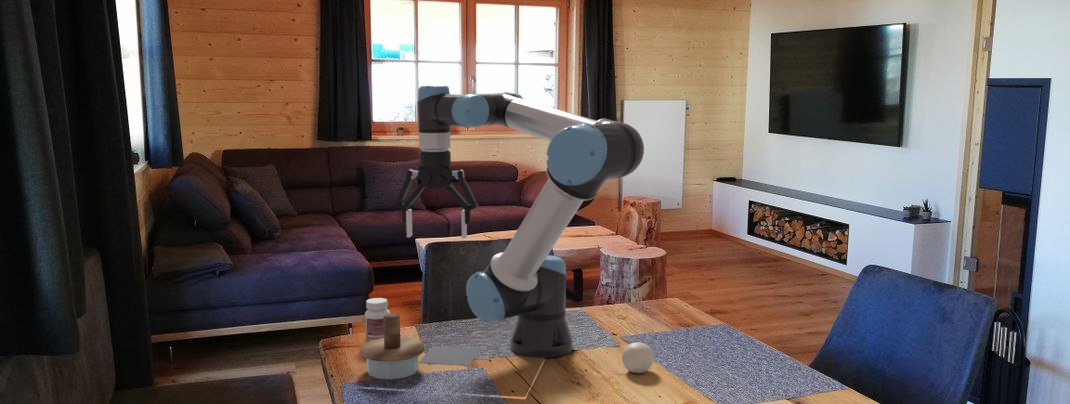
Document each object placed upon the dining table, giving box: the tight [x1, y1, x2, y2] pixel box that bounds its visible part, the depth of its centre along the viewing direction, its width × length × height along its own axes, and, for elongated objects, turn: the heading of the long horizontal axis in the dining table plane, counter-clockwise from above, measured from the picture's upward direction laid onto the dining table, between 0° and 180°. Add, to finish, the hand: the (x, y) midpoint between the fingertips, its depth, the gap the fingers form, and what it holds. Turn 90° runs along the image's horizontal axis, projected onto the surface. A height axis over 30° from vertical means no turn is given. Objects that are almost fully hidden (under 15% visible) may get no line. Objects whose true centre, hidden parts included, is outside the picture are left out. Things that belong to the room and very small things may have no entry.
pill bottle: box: [364, 297, 391, 343], centre depth 210 cm, size 6×6×11 cm
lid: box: [359, 313, 425, 361], centre depth 190 cm, size 14×14×8 cm
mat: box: [418, 345, 482, 367], centre depth 201 cm, size 12×12×1 cm
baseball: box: [621, 341, 654, 374], centre depth 191 cm, size 7×7×7 cm
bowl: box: [366, 356, 419, 380], centre depth 191 cm, size 11×11×5 cm
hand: (436, 236), depth 209 cm, fingers open, 13 cm apart
